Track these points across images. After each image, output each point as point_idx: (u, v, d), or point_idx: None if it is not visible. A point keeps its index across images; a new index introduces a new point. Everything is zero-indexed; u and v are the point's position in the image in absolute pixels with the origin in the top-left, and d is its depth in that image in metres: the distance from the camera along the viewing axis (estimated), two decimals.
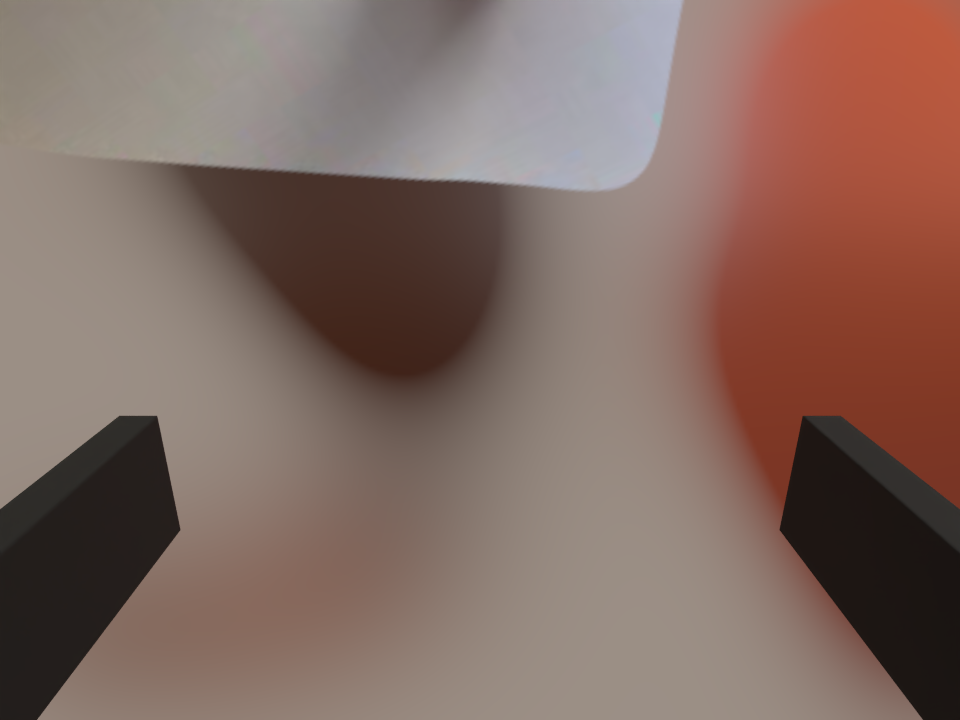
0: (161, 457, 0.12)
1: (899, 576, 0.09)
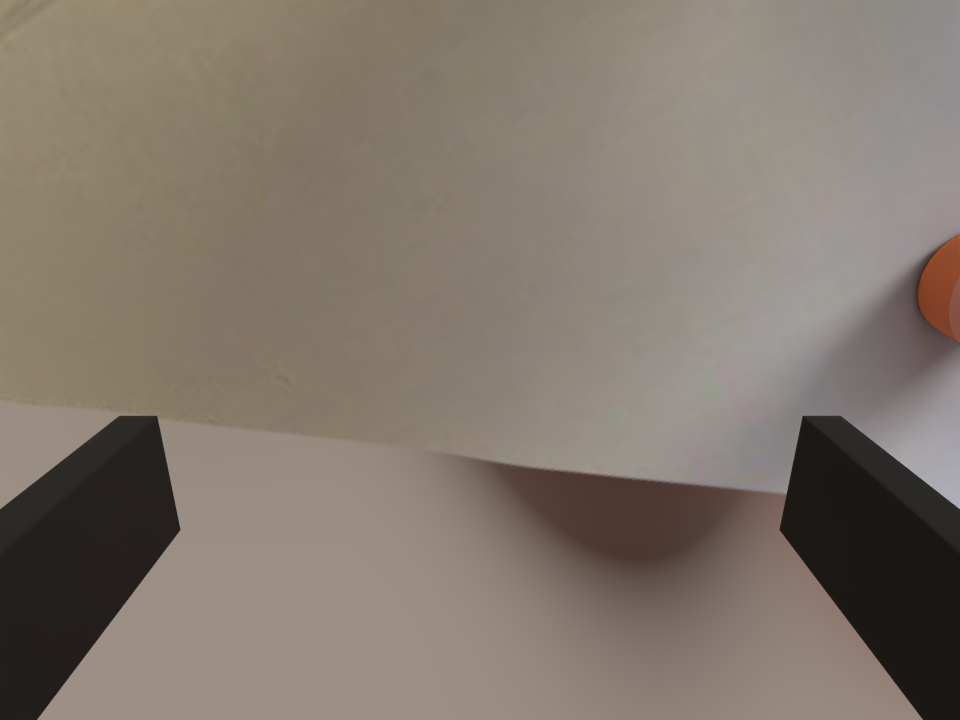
0: (161, 457, 0.12)
1: (899, 576, 0.09)
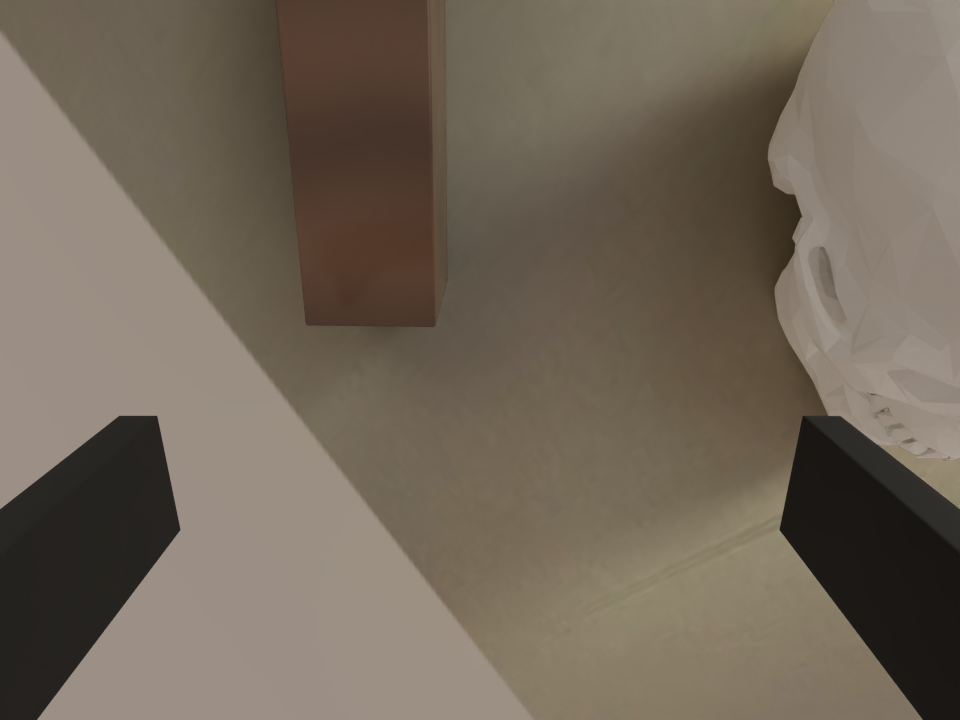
0: (161, 457, 0.12)
1: (899, 576, 0.09)
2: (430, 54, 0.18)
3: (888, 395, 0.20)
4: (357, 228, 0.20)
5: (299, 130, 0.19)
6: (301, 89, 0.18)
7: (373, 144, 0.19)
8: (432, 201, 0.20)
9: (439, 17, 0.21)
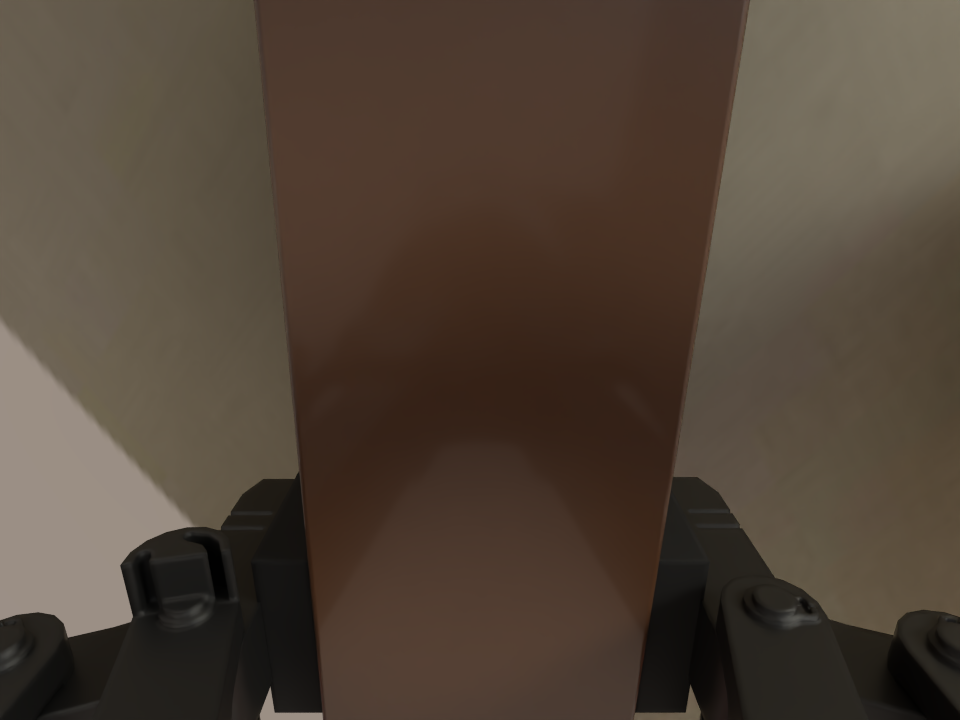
0: None
1: None
2: (715, 204, 0.06)
3: None
4: (465, 604, 0.08)
5: (324, 393, 0.07)
6: (332, 293, 0.06)
7: (524, 427, 0.07)
8: (660, 551, 0.08)
9: None
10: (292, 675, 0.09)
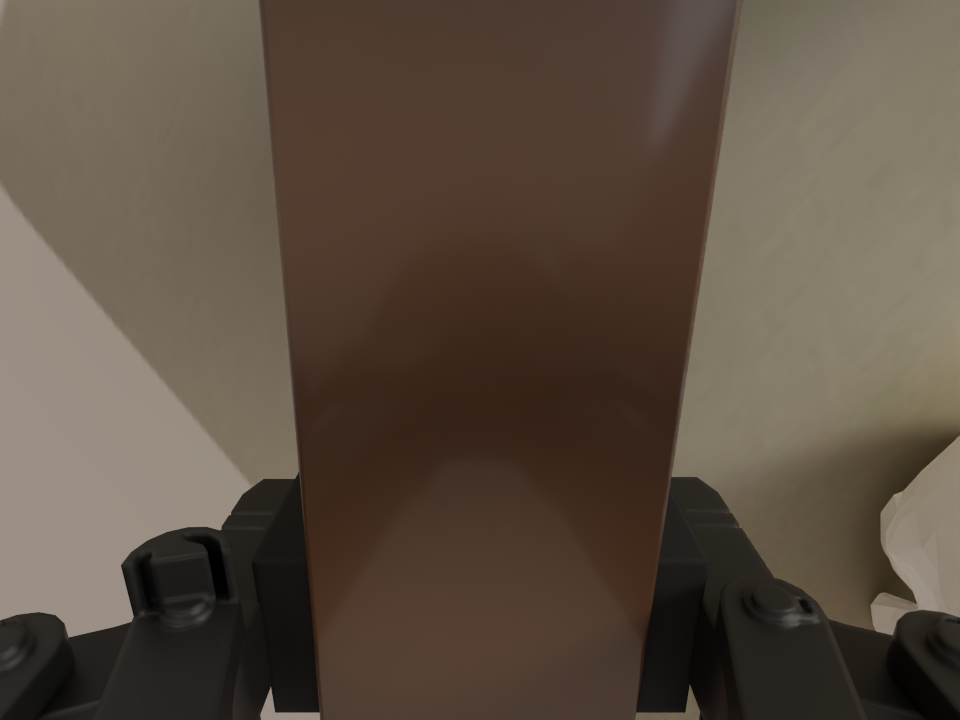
0: None
1: None
2: (710, 204, 0.06)
3: None
4: (464, 606, 0.08)
5: (324, 392, 0.07)
6: (333, 291, 0.07)
7: (523, 425, 0.07)
8: (659, 552, 0.08)
9: None
10: (293, 675, 0.09)
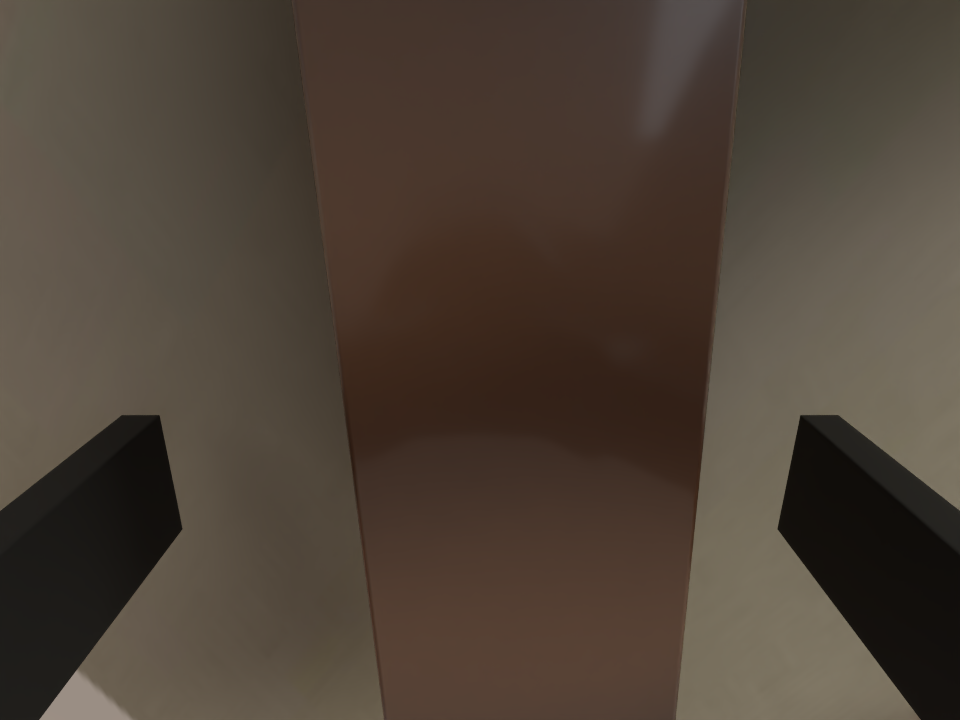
0: (163, 456, 0.12)
1: (896, 575, 0.09)
2: (723, 228, 0.07)
3: None
4: (512, 607, 0.09)
5: (375, 419, 0.07)
6: (380, 328, 0.07)
7: (559, 439, 0.08)
8: (692, 547, 0.08)
9: None
10: None
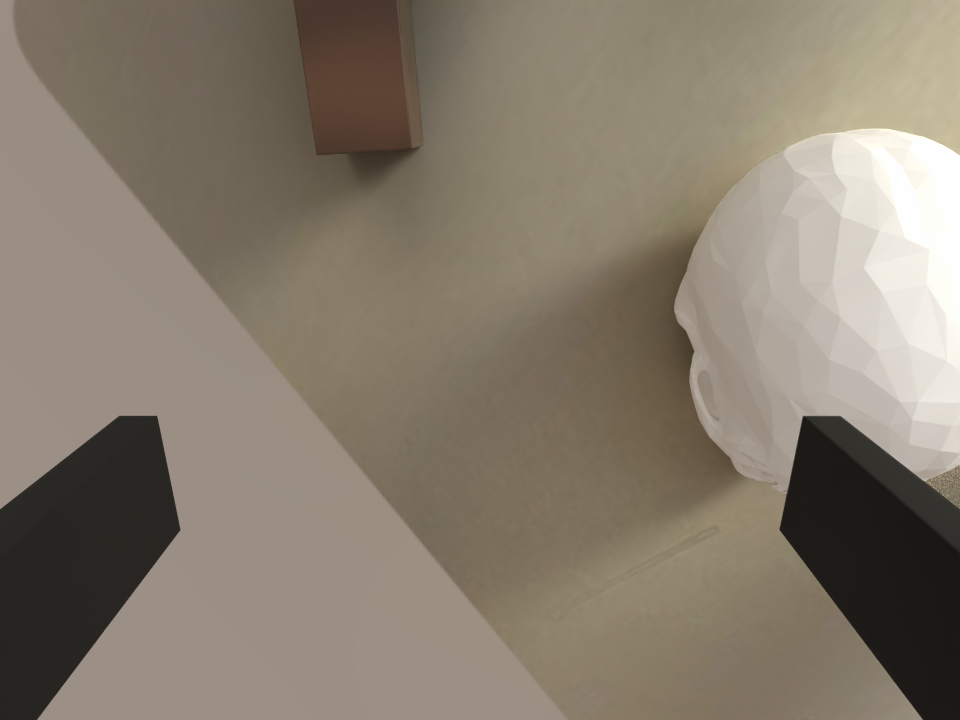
0: (161, 457, 0.12)
1: (899, 576, 0.09)
2: None
3: (746, 464, 0.32)
4: (349, 73, 0.27)
5: None
6: None
7: (356, 6, 0.26)
8: (402, 47, 0.27)
9: None
10: None
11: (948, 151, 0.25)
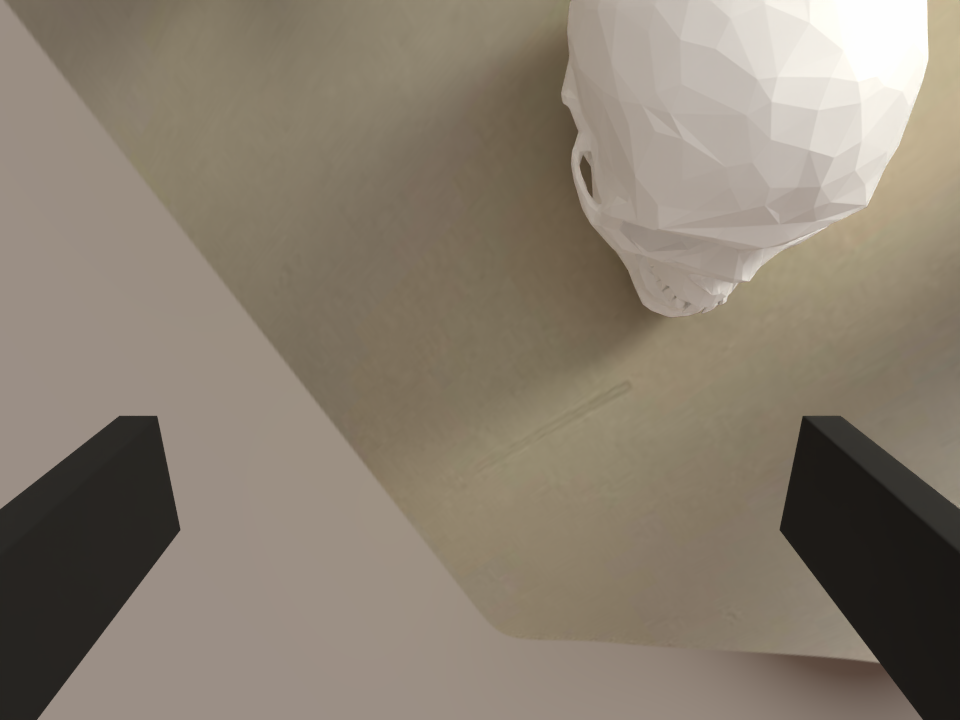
0: (161, 457, 0.12)
1: (899, 576, 0.09)
2: None
3: (628, 249, 0.29)
4: None
5: None
6: None
7: None
8: None
9: None
10: None
11: None
